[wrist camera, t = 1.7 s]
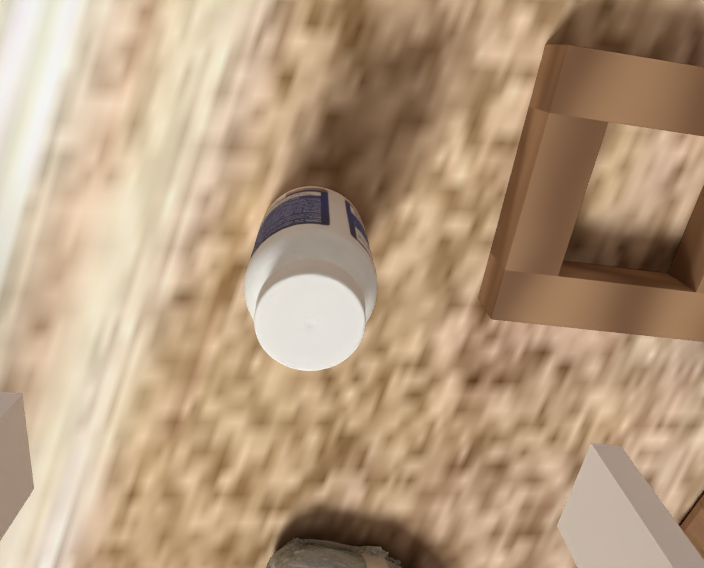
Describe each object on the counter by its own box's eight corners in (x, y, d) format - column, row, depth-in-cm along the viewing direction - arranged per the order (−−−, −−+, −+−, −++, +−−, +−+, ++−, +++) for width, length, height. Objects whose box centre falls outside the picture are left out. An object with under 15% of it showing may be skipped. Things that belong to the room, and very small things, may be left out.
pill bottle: (245, 260, 28) (211, 360, 19) (283, 166, 26) (265, 229, 18) (339, 296, 29) (348, 406, 21) (382, 209, 28) (412, 289, 19)
